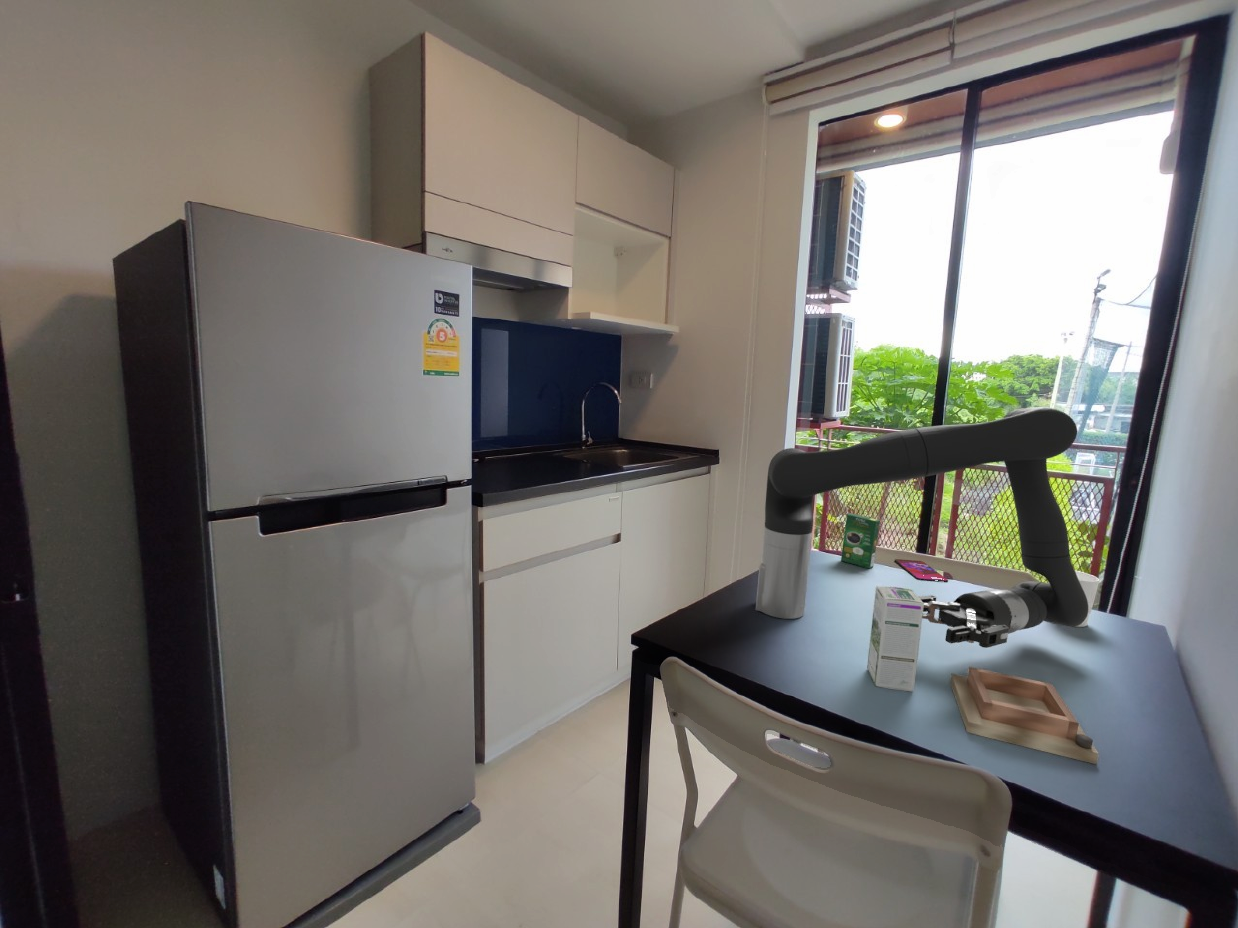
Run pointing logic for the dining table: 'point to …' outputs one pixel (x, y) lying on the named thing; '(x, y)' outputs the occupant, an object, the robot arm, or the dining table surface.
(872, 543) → the coffee box
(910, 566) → the smartphone
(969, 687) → the wooden cradle
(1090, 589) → the white cup
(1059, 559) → the robot arm
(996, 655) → the dining table surface
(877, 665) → the syrup box
